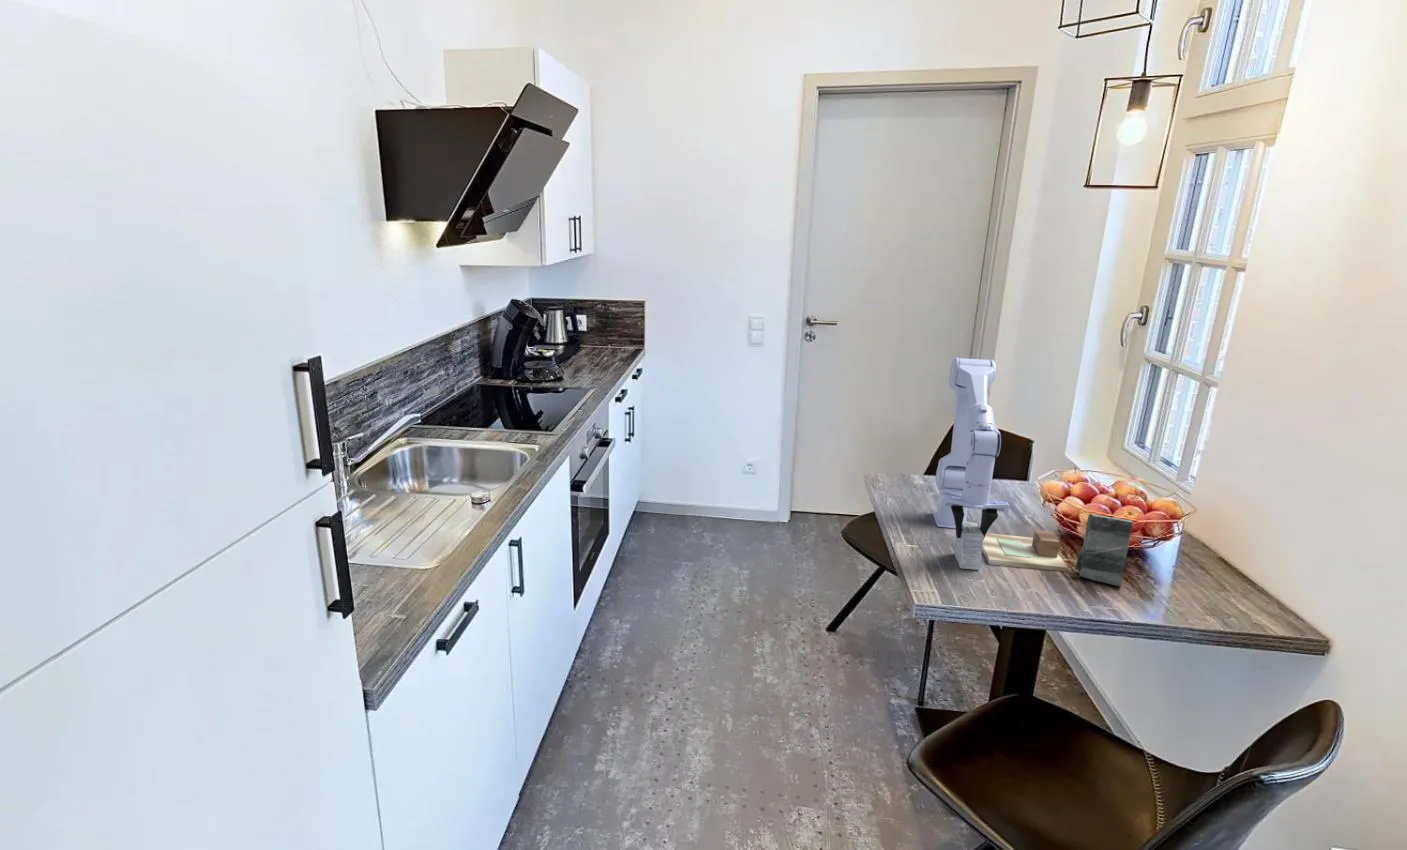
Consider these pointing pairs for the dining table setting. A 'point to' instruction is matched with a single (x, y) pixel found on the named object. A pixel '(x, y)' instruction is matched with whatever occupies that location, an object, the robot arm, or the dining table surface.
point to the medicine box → (969, 546)
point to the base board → (1018, 553)
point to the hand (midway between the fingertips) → (969, 537)
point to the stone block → (1104, 549)
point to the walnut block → (1045, 543)
